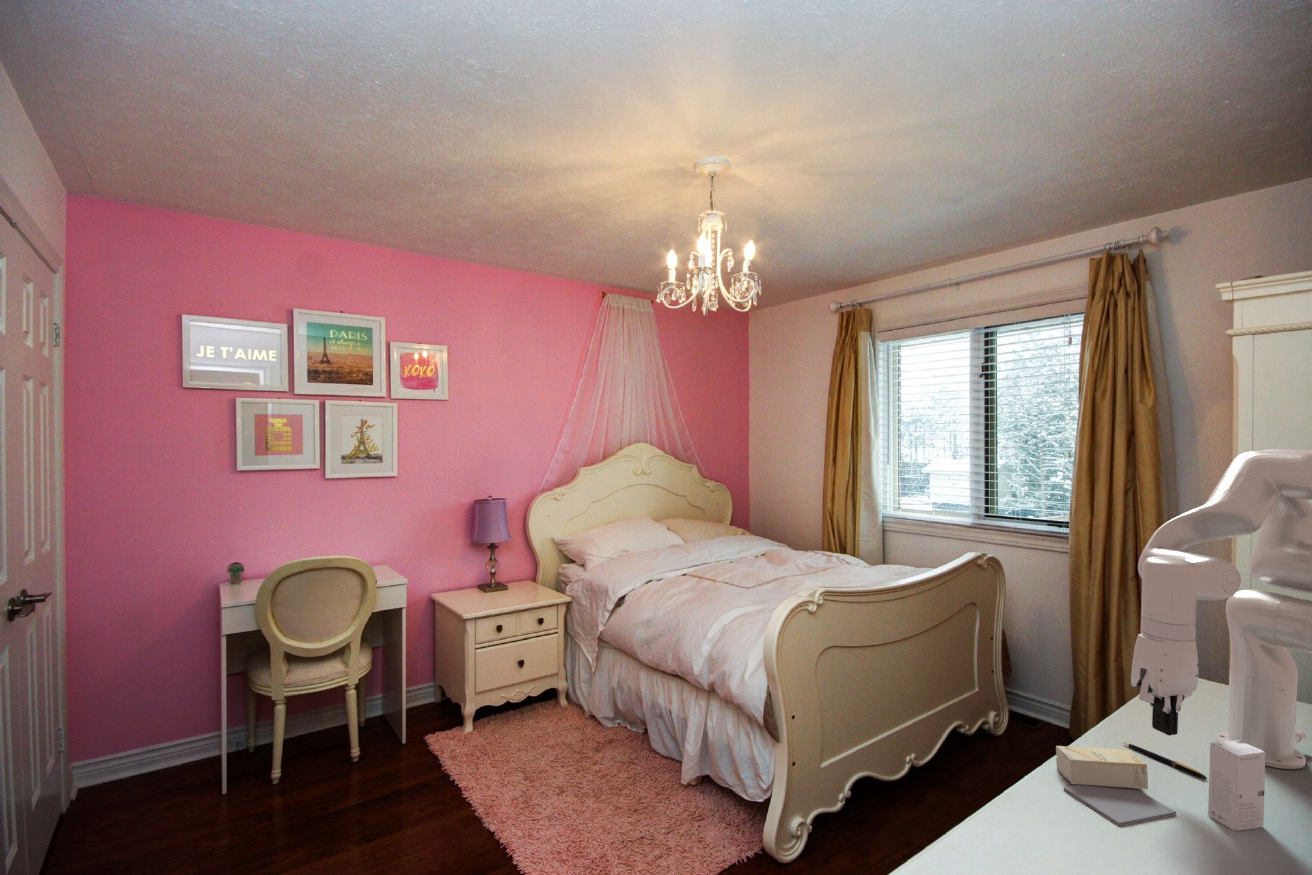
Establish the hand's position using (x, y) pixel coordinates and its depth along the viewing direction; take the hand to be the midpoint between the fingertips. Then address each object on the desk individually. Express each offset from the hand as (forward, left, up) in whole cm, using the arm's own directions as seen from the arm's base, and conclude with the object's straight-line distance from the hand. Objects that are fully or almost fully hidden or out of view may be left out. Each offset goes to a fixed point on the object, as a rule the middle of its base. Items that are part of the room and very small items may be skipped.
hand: (1164, 731), depth 112 cm
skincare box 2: (-1, +11, -10) cm, 15 cm away
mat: (+13, +2, -10) cm, 16 cm away
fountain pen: (-8, -6, -10) cm, 14 cm away
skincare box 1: (+4, -1, -7) cm, 8 cm away
